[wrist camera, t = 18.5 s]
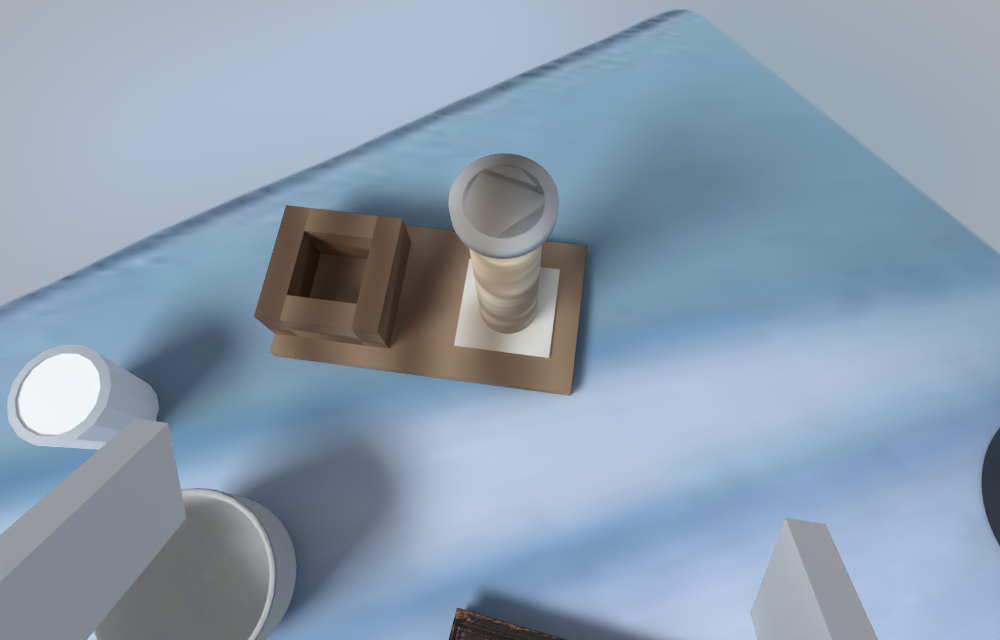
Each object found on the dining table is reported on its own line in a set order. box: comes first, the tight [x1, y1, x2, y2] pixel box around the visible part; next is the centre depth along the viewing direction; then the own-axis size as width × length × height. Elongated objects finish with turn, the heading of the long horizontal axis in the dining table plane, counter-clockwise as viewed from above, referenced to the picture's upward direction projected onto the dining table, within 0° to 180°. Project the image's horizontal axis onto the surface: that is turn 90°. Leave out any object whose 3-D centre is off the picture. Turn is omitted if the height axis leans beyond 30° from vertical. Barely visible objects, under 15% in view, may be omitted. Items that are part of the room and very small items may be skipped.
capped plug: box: [449, 154, 559, 334], centre depth 40 cm, size 6×6×16 cm
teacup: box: [93, 488, 297, 640], centre depth 39 cm, size 14×11×8 cm
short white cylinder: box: [7, 345, 159, 449], centre depth 44 cm, size 7×7×7 cm
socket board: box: [254, 205, 587, 395], centre depth 47 cm, size 23×12×5 cm, turn 82°
